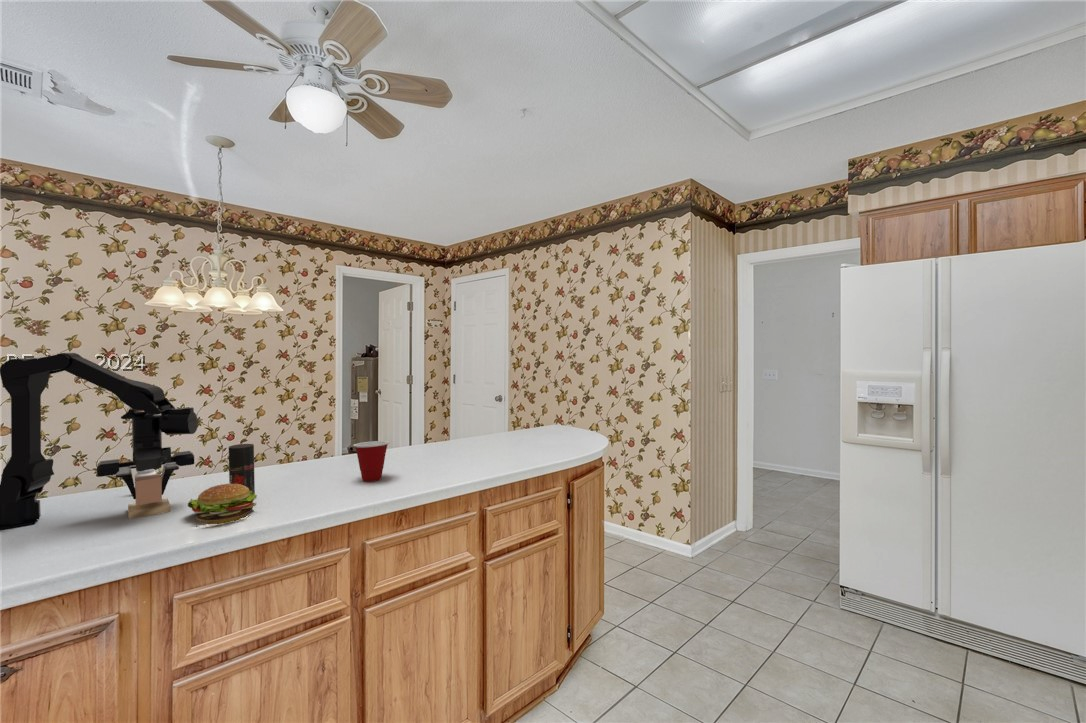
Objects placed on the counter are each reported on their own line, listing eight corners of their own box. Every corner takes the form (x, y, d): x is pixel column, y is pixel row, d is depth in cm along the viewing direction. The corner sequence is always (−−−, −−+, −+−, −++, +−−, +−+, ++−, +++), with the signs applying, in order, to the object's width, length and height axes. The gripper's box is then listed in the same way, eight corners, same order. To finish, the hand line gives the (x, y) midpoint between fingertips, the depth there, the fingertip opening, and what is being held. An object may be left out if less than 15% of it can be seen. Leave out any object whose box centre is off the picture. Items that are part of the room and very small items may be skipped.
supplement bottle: (131, 498, 133) (130, 468, 133) (140, 493, 138) (139, 464, 138) (151, 497, 135) (151, 467, 134) (160, 492, 139) (159, 463, 139)
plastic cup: (383, 472, 161) (383, 437, 160) (393, 480, 152) (393, 443, 152) (349, 477, 155) (349, 441, 154) (358, 486, 146) (357, 447, 145)
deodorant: (259, 496, 135) (258, 444, 135) (241, 503, 130) (240, 448, 129) (243, 495, 137) (242, 443, 136) (224, 501, 131) (223, 447, 131)
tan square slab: (128, 518, 116) (128, 512, 116) (128, 510, 122) (128, 504, 122) (170, 511, 121) (170, 505, 121) (167, 503, 127) (167, 498, 127)
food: (243, 503, 130) (243, 474, 130) (264, 515, 121) (263, 484, 121) (182, 517, 119) (181, 486, 119) (200, 531, 110) (199, 497, 110)
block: (136, 505, 118) (135, 481, 118) (135, 500, 121) (134, 477, 121) (161, 501, 121) (161, 477, 121) (160, 496, 125) (160, 473, 125)
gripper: (95, 445, 108) (97, 513, 109) (196, 435, 121) (197, 496, 121) (97, 438, 117) (98, 501, 117) (191, 429, 129) (192, 486, 130)
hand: (148, 496), depth 121 cm, fingers closed on block, 5 cm apart
